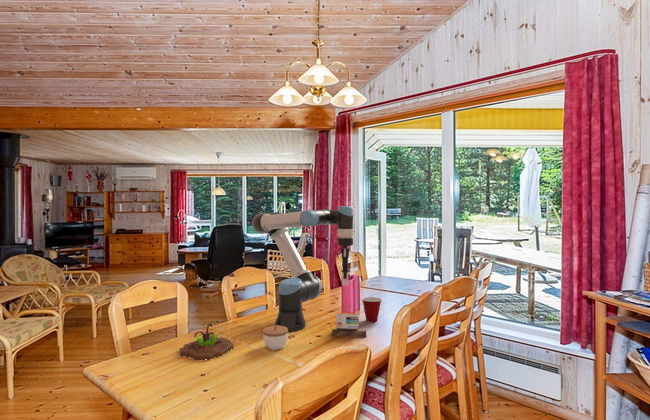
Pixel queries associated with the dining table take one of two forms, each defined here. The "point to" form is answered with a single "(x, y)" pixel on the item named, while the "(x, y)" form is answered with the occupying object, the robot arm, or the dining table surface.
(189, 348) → the plant
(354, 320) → the light bulb box
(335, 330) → the walnut stop rail
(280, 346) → the lidded jar
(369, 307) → the plastic cup
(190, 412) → the dining table surface
